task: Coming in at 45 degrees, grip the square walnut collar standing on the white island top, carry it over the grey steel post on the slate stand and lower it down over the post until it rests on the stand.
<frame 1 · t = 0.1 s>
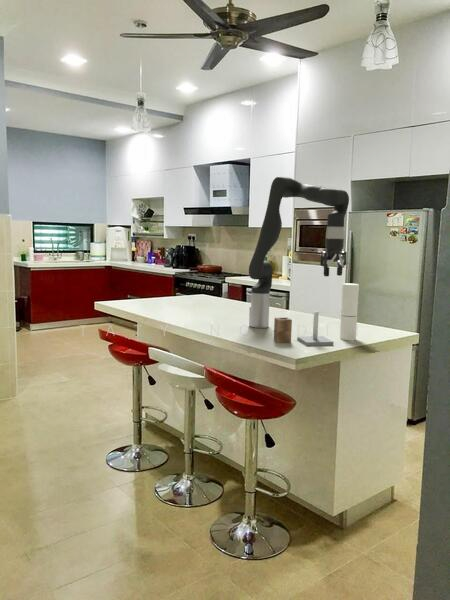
hand: (332, 275, 209), 29 cm above the countertop, tool pointing down, fingers open, 8 cm apart
cylindrical container: (347, 339, 222), on the countertop
collar: (282, 341, 214), on the countertop
post stand: (314, 342, 212), on the countertop
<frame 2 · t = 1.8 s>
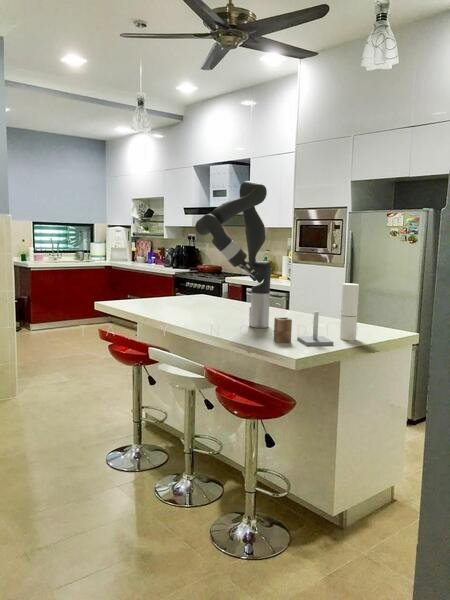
hand: (258, 280, 208), 27 cm above the countertop, tool tilted 45°, fingers open, 8 cm apart
nothing on the countertop moved.
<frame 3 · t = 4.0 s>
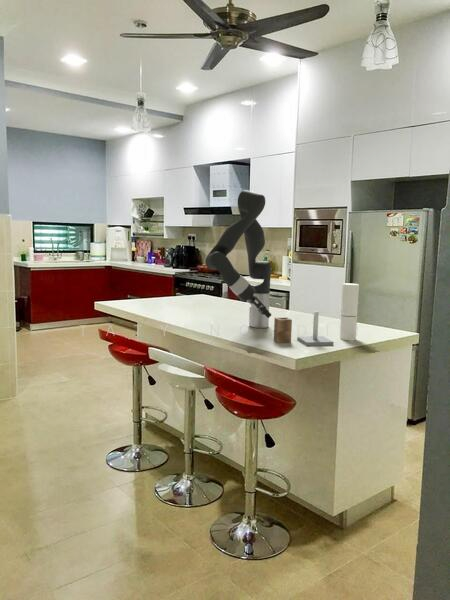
hand: (267, 314, 211), 12 cm above the countertop, tool tilted 45°, fingers open, 8 cm apart
nothing on the countertop moved.
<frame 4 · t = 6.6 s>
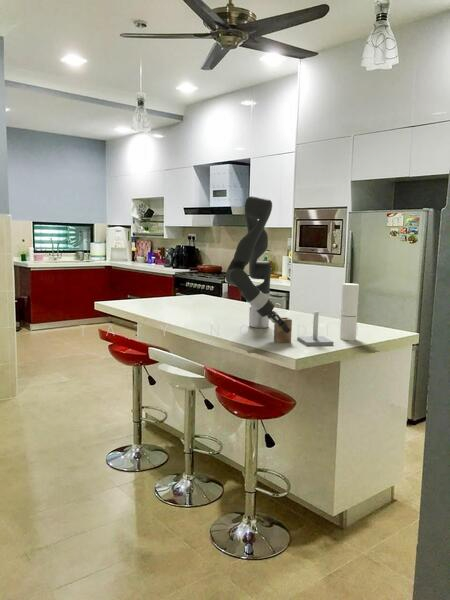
hand: (286, 330, 214), 5 cm above the countertop, tool tilted 45°, fingers closed on collar, 6 cm apart
collar: (282, 341, 214), on the countertop, touching gripper
everything else where it was.
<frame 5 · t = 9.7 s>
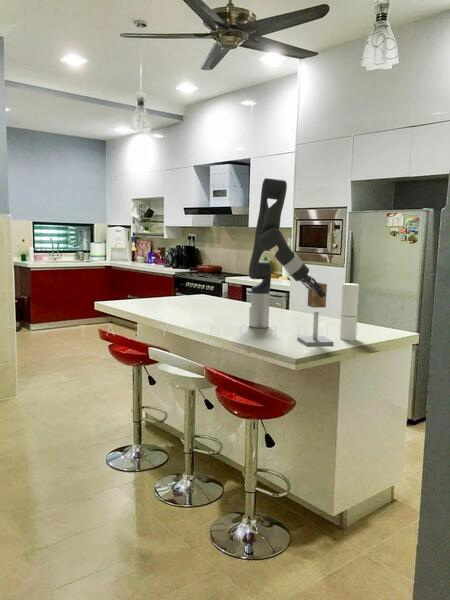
hand: (320, 295, 210), 21 cm above the countertop, tool tilted 45°, fingers closed on collar, 6 cm apart
collar: (316, 306, 210), point 16 cm above the countertop, touching gripper
everything else where it was.
when the fingers open (8 cm above the countertop, at t = 13.0 s): collar drops 2 cm, resting on post stand.
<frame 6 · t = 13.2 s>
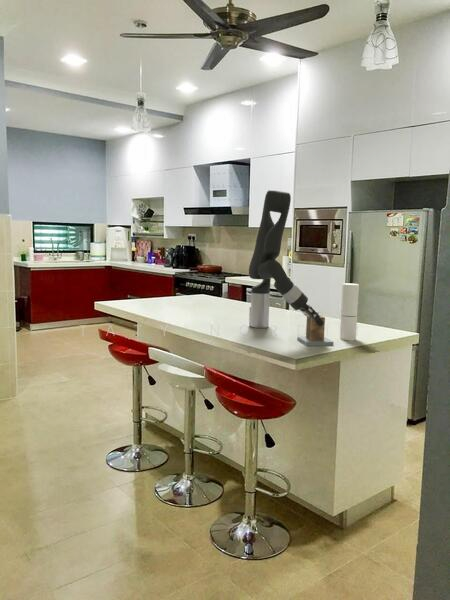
hand: (318, 323, 212), 9 cm above the countertop, tool tilted 45°, fingers open, 8 cm apart
collar: (314, 339, 212), point 2 cm above the countertop, touching post stand
everything else where it was.
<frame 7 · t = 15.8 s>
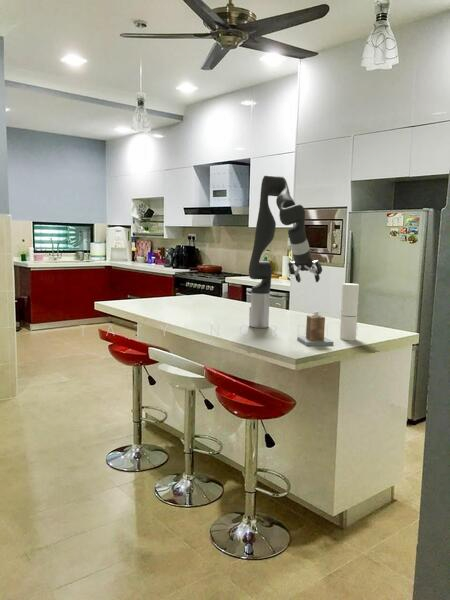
hand: (308, 281, 217), 26 cm above the countertop, tool tilted 30°, fingers open, 8 cm apart
nothing on the countertop moved.
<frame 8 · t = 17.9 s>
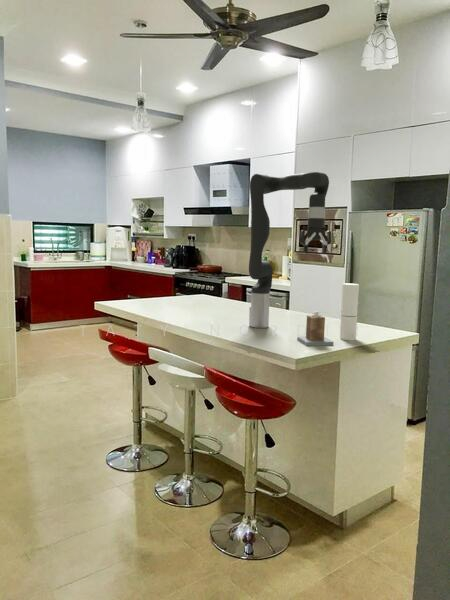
hand: (314, 253, 222), 38 cm above the countertop, tool pointing down, fingers open, 8 cm apart
nothing on the countertop moved.
at the end: collar 0.1 cm off-centre on the post stand, point 1.5 cm above the post stand's base; collar tilted 0°; the gripper is holding nothing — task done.
